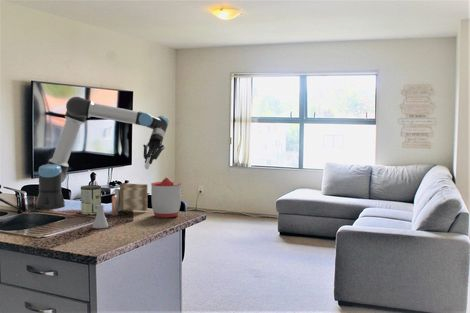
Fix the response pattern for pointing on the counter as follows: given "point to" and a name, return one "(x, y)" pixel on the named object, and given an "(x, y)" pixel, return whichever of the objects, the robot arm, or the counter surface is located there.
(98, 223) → the flask
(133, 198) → the brown beige flat square
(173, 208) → the citrus juicer
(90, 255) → the counter surface
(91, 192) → the coffee can
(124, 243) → the counter surface
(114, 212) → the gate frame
